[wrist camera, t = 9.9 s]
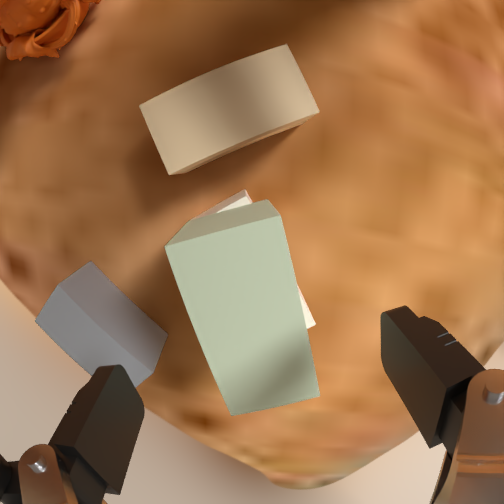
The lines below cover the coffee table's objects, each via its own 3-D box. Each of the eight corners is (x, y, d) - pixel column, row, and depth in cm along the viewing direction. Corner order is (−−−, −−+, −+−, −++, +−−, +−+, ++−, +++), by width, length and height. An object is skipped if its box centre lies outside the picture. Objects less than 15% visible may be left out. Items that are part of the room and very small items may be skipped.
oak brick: (186, 172, 19) (168, 175, 14) (163, 119, 18) (139, 105, 13) (300, 124, 19) (319, 112, 14) (276, 71, 18) (286, 44, 13)
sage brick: (188, 220, 15) (164, 246, 10) (267, 199, 15) (280, 215, 10) (233, 354, 17) (231, 415, 12) (301, 338, 17) (320, 395, 12)
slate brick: (67, 293, 21) (34, 321, 16) (91, 260, 21) (58, 284, 16) (139, 360, 23) (120, 399, 18) (168, 333, 22) (153, 372, 17)
